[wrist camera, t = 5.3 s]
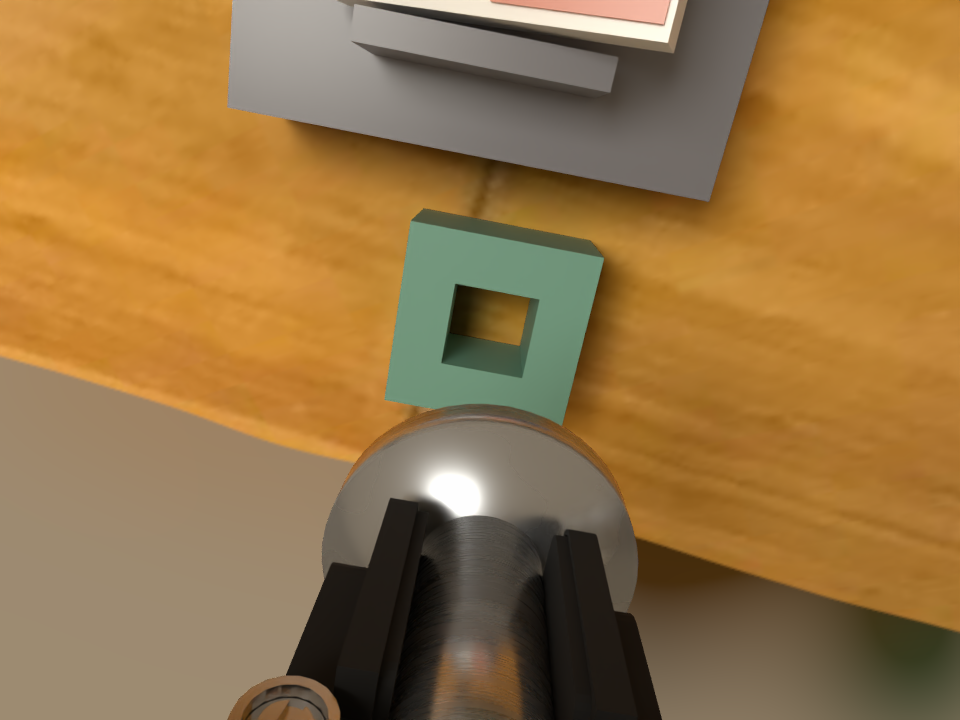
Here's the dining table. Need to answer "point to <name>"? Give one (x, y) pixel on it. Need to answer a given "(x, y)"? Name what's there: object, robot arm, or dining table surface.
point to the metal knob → (481, 551)
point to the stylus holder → (503, 268)
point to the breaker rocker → (559, 17)
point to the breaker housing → (504, 87)
